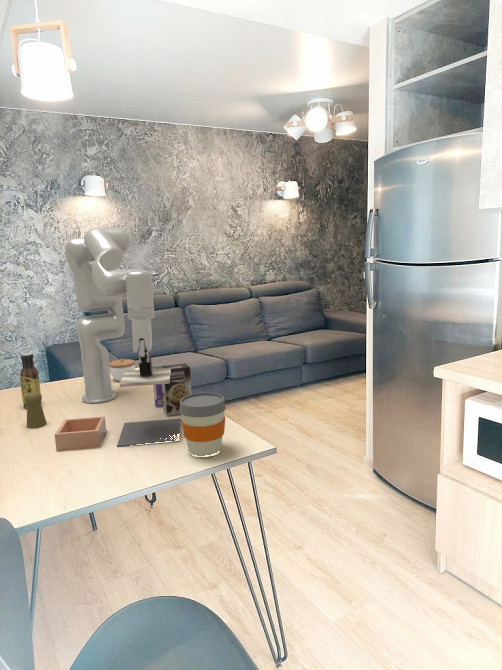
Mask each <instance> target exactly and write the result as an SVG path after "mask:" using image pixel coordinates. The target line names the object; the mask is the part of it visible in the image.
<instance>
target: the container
mask: <svg viewBox="0 0 502 670" xmlns="http://www.w3.org/2000/svg"><path fill="white" fill-rule="evenodd" d="M161 366H166V364H165V363H161V362H159V363H158V362H157V363H153V364H152V369H161ZM152 387H153V396H154V397H153V398H154V407H155V408H159V409H161V408H163V397H162V384H156V385H152Z"/></svg>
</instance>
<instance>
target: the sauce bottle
mask: <svg viewBox="0 0 502 670" xmlns="http://www.w3.org/2000/svg"><path fill="white" fill-rule="evenodd" d="M20 359H21V366H22V368H21V369H20V372H19V381H20V389H21V399H22V403H23V407H24V408H25V409H27V403H26V402H25V400H24V397H25V395H26V394H28V393H31V392H39V393H40V394H41V385H40V384H41V383H40V377H39V371H38V369H37V367H36V366H35V364H34V353H33V352H25V353H22V354H20ZM41 395H42V394H41ZM41 405H42V402H41Z"/></svg>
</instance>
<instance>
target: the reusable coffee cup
mask: <svg viewBox="0 0 502 670" xmlns="http://www.w3.org/2000/svg"><path fill="white" fill-rule="evenodd" d="M225 401H226V400H225V397H224V395H222V394H220V393H217V392H198V393H197V392H196V393H192V394H191V395H188V396H185V397H183V398H182V399H181V400H180V413H181V414H180V415H181V427H182V432H183V437H184V439H186V445H187V448H188V453H189V452H190V453H191V454H193V455H197V456H205V455H211V454H214V453H217V452H218V451H220V450H221V451H222V446H223V436H224V434H225V427H226V426H225V425H226V416H225V410H226V408H227V407H226V402H225Z"/></svg>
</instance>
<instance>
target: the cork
mask: <svg viewBox="0 0 502 670" xmlns="http://www.w3.org/2000/svg"><path fill="white" fill-rule="evenodd" d="M24 400H25V402H26V403H27V408H26V428H28V429H38V428H43V427H45V426H46V425H47V420H46V415H45V413H44V408H43V406H42V404H41V403H42V400H43V395H42V394H40V393H39V392H31V393H28V394H26V395H25V397H24Z"/></svg>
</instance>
